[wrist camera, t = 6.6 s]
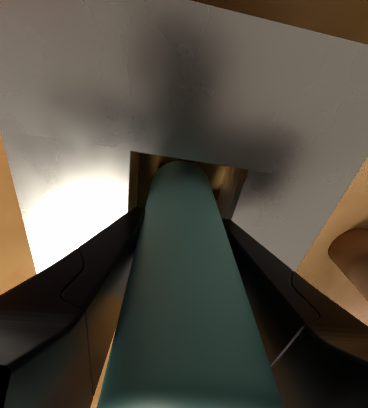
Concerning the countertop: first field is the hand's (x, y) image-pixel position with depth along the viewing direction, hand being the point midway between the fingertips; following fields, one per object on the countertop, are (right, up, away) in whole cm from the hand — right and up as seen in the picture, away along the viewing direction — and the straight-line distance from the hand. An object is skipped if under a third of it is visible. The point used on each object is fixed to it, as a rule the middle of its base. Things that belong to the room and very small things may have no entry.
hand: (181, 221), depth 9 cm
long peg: (0, +2, +3) cm, 3 cm away
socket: (0, +2, +3) cm, 4 cm away
